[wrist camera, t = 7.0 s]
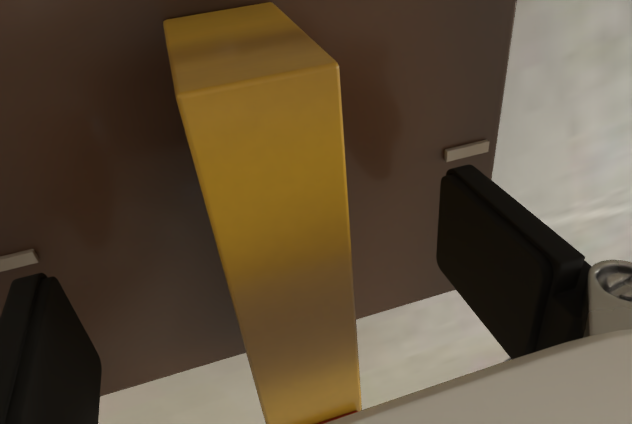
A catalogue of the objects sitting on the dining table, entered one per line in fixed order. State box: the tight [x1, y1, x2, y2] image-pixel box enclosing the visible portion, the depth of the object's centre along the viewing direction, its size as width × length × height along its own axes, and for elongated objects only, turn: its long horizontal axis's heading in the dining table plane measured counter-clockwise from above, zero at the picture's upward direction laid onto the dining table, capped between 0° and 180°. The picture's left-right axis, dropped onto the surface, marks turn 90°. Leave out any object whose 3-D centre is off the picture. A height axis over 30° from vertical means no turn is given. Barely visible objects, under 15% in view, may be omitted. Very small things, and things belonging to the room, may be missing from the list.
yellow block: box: [163, 2, 362, 424], centre depth 11 cm, size 10×2×5 cm, turn 6°
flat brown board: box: [0, 0, 517, 396], centre depth 14 cm, size 15×14×3 cm
